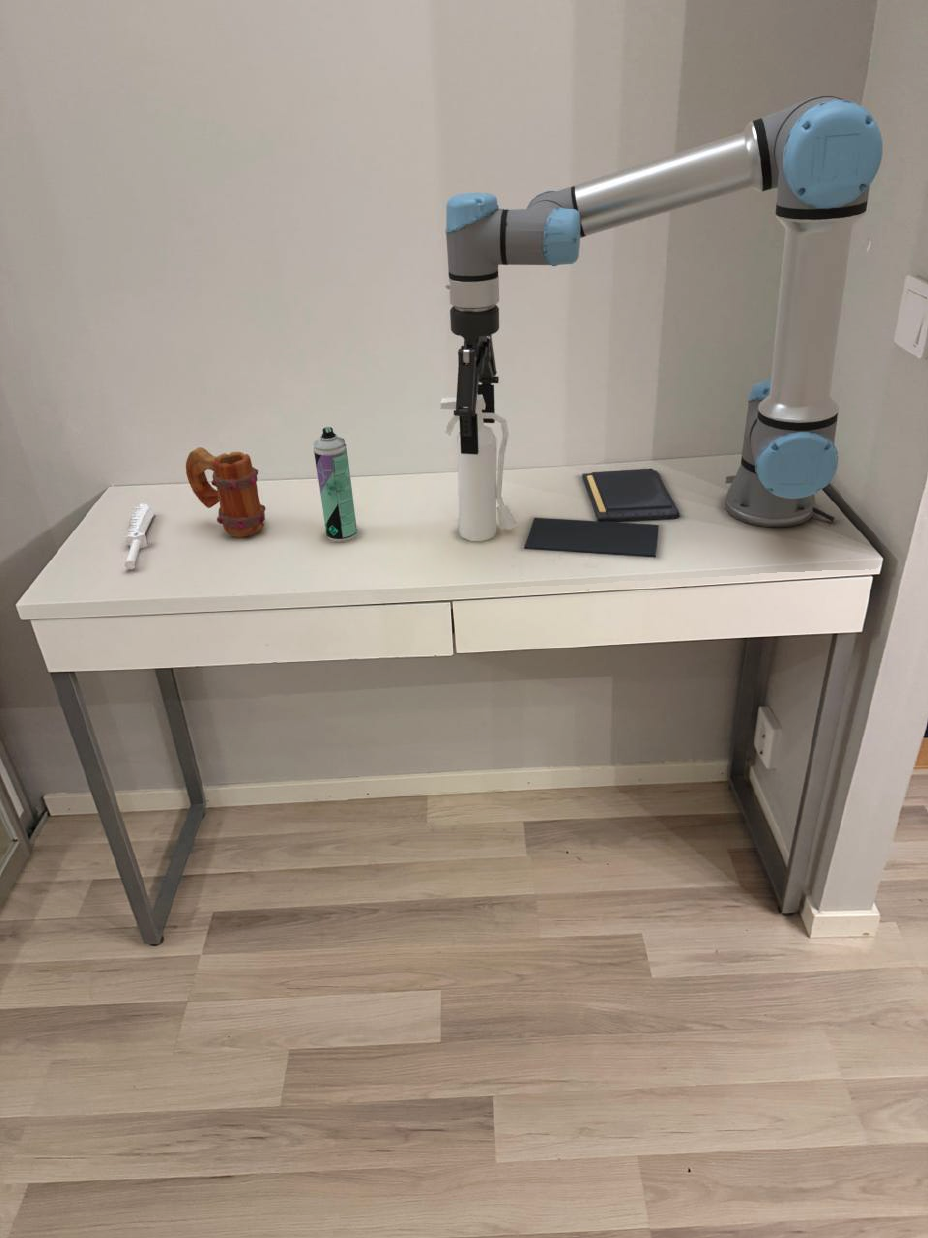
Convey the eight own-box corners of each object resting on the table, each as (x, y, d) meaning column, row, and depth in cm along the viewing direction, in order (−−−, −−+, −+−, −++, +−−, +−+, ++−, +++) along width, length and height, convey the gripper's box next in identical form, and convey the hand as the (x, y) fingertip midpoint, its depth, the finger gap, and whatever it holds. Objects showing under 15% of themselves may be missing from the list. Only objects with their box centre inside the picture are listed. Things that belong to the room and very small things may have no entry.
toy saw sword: (117, 573, 153) (136, 515, 172) (141, 570, 154) (157, 513, 172) (113, 559, 152) (133, 503, 170) (137, 557, 152) (154, 501, 171)
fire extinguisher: (516, 542, 156) (514, 402, 142) (447, 542, 157) (438, 403, 143) (518, 524, 161) (516, 388, 147) (451, 524, 162) (443, 389, 149)
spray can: (344, 525, 164) (330, 420, 153) (363, 534, 161) (350, 427, 150) (320, 536, 161) (304, 429, 150) (339, 545, 158) (324, 437, 147)
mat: (658, 526, 158) (658, 524, 158) (655, 557, 149) (655, 555, 149) (534, 519, 163) (534, 517, 162) (524, 548, 154) (524, 546, 153)
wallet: (681, 509, 159) (594, 513, 159) (680, 518, 160) (594, 522, 160) (659, 463, 176) (581, 467, 176) (659, 472, 177) (581, 476, 177)
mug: (279, 524, 166) (265, 447, 157) (253, 544, 160) (237, 465, 151) (215, 512, 171) (199, 438, 163) (187, 531, 165) (169, 455, 157)
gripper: (467, 285, 148) (472, 409, 160) (430, 327, 128) (438, 466, 140) (512, 285, 147) (513, 411, 159) (481, 328, 127) (485, 468, 138)
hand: (478, 437), depth 149 cm, fingers open, 13 cm apart
